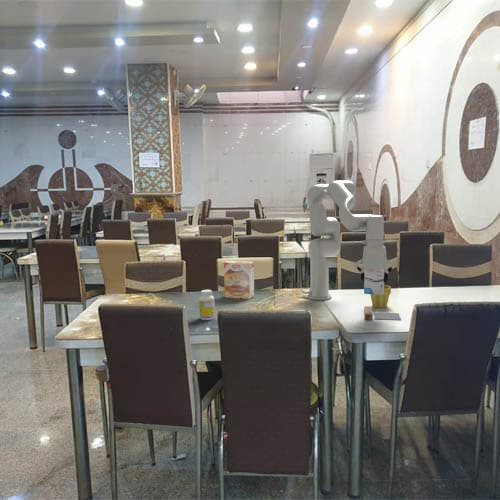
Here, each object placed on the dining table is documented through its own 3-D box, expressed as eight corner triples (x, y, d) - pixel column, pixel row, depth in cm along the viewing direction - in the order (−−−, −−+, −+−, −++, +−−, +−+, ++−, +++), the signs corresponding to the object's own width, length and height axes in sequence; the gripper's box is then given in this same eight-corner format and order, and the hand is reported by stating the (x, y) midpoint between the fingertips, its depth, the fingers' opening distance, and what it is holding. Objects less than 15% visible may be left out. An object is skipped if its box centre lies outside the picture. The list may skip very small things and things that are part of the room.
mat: (374, 319, 199) (374, 318, 199) (373, 313, 209) (373, 312, 209) (401, 320, 196) (401, 319, 196) (398, 313, 207) (398, 313, 207)
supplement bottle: (200, 316, 208) (199, 289, 207) (214, 316, 209) (213, 288, 207) (199, 320, 202) (198, 292, 200) (214, 320, 202) (213, 291, 201)
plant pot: (366, 304, 227) (366, 284, 226) (387, 303, 227) (387, 284, 225) (371, 309, 217) (371, 288, 216) (393, 308, 216) (393, 288, 215)
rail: (365, 320, 198) (365, 314, 197) (364, 311, 212) (364, 306, 212) (372, 320, 197) (372, 314, 197) (371, 311, 211) (371, 306, 211)
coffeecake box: (224, 297, 247) (223, 262, 245) (229, 294, 254) (228, 260, 252) (249, 299, 242) (249, 263, 240) (254, 296, 248) (254, 261, 246)
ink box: (363, 294, 202) (363, 261, 200) (364, 291, 207) (364, 259, 205) (383, 295, 199) (384, 261, 197) (384, 292, 204) (384, 260, 202)
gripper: (354, 244, 198) (354, 282, 200) (396, 244, 195) (395, 283, 197) (354, 242, 206) (354, 279, 208) (394, 242, 202) (393, 280, 204)
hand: (374, 281), depth 202 cm, fingers closed on ink box, 9 cm apart
